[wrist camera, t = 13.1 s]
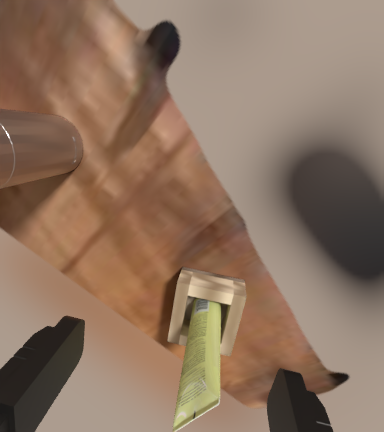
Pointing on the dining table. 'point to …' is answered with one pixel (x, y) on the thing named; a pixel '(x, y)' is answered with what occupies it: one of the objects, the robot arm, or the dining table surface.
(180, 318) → the socket block
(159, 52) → the dining table surface
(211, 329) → the tube
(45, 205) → the dining table surface
